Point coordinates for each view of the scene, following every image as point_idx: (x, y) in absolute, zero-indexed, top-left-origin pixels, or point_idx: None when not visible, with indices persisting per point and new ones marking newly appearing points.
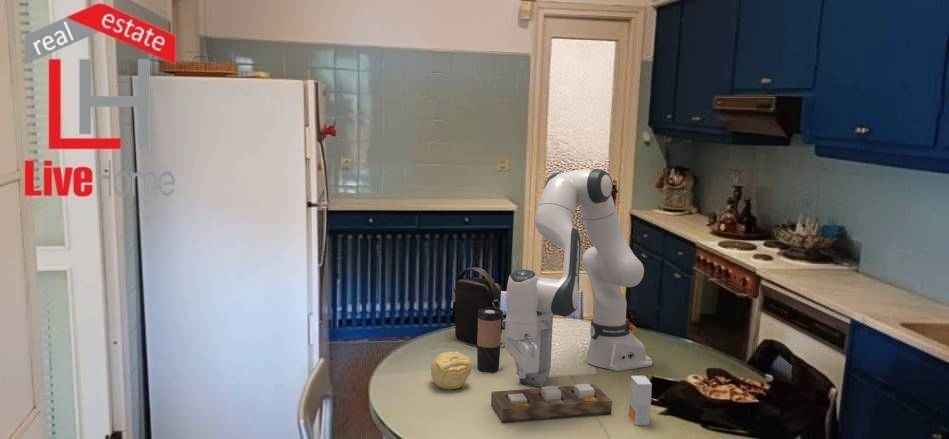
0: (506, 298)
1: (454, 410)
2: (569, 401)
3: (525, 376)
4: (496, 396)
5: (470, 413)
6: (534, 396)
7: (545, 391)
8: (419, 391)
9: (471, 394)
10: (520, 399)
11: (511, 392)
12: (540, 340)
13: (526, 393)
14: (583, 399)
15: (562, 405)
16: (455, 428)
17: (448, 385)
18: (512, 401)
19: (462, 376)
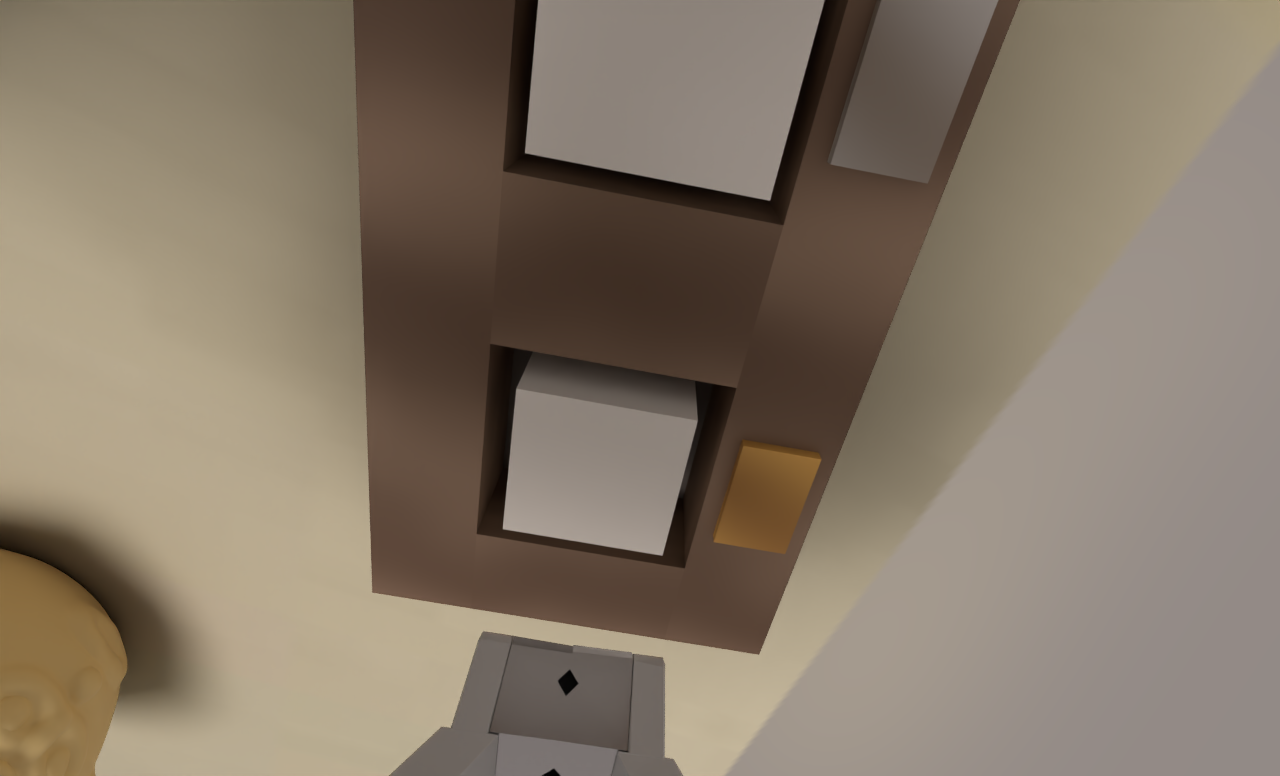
0: None
1: (456, 708)
2: None
3: (662, 668)
4: (487, 597)
5: None
6: (603, 273)
7: (702, 181)
8: (151, 761)
9: (206, 551)
10: (662, 477)
11: (426, 451)
12: None
13: (489, 318)
14: None
15: (1001, 28)
16: (687, 770)
17: (118, 693)
18: (662, 547)
19: (40, 688)
